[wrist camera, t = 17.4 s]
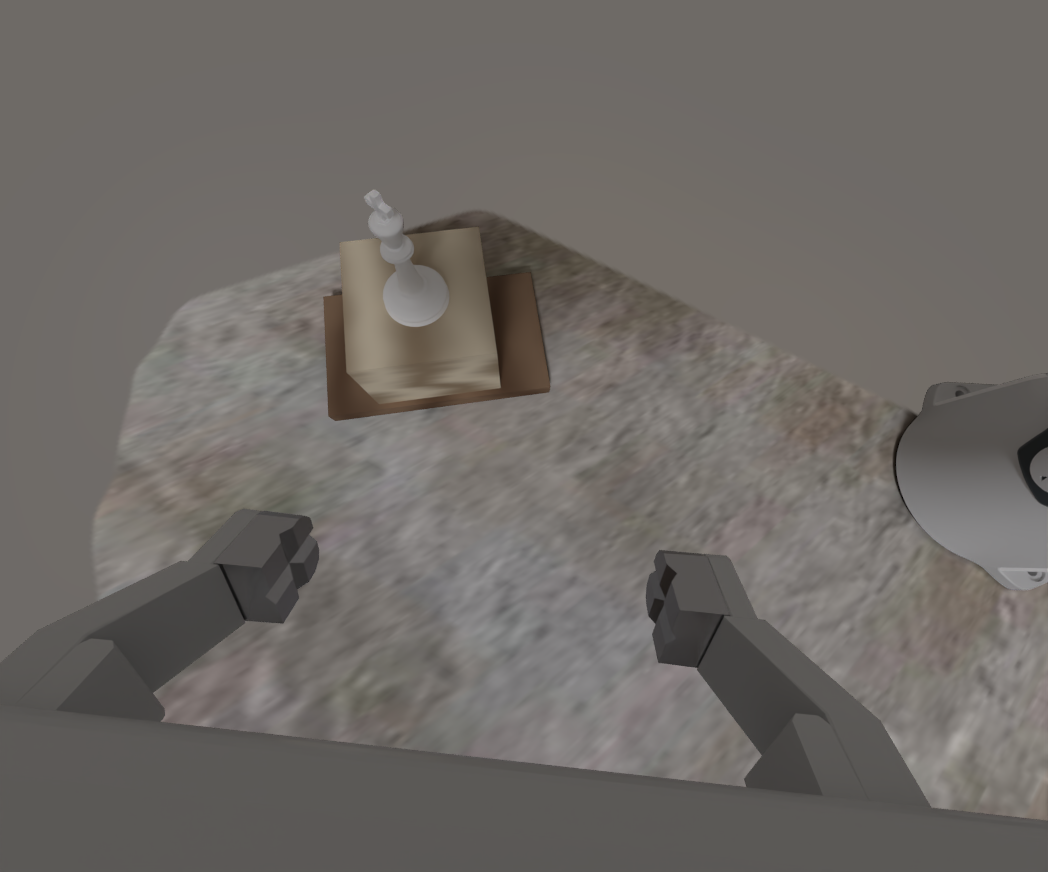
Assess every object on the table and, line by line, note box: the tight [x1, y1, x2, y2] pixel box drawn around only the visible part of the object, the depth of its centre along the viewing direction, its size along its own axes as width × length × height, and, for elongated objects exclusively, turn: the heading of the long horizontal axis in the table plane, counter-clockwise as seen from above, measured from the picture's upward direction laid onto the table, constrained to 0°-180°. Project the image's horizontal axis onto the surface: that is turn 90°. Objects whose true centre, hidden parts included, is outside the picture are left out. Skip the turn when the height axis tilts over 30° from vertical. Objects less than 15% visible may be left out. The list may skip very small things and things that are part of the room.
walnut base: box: [324, 227, 550, 421], centre depth 37 cm, size 20×12×9 cm, turn 98°
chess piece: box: [364, 189, 449, 327], centre depth 27 cm, size 5×5×10 cm
